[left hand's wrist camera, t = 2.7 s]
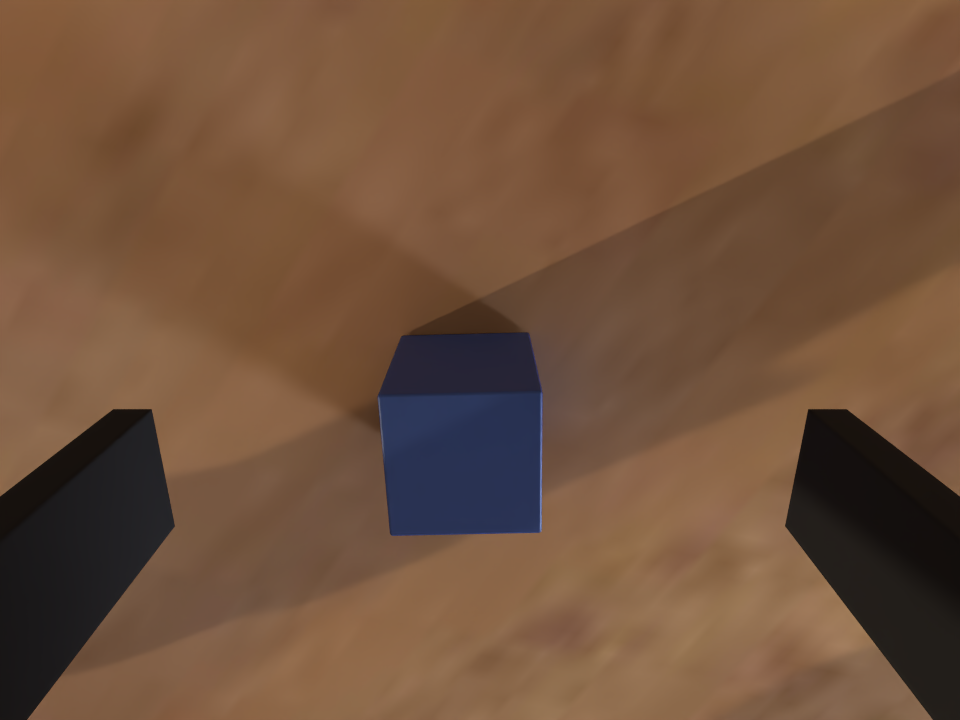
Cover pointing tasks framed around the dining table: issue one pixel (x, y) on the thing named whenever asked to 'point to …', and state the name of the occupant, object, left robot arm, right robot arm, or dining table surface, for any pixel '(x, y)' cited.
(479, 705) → the dining table surface
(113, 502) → the left robot arm
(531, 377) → the cube
